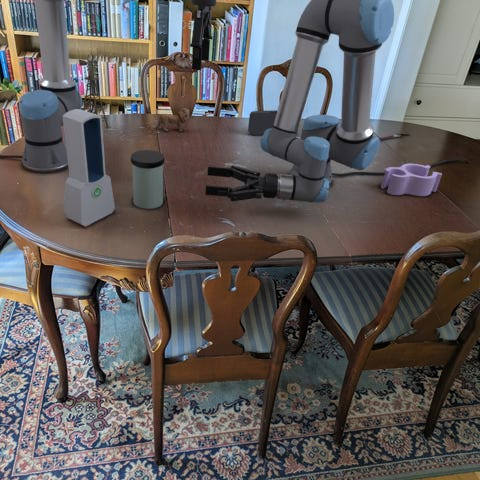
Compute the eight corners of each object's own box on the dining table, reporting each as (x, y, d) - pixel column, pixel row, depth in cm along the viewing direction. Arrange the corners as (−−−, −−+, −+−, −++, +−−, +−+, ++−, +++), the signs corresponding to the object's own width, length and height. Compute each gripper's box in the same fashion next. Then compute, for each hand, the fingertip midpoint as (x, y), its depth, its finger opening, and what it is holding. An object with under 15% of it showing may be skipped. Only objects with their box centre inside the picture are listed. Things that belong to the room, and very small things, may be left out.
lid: (126, 157, 138) (126, 151, 137) (157, 153, 142) (157, 148, 141) (137, 170, 131) (136, 164, 130) (169, 166, 136) (169, 160, 135)
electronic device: (82, 228, 128) (71, 122, 112) (63, 219, 131) (50, 114, 115) (115, 211, 137) (109, 111, 121) (97, 203, 140) (89, 104, 124)
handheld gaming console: (295, 131, 210) (298, 109, 204) (297, 134, 208) (301, 111, 202) (247, 133, 203) (249, 110, 197) (249, 135, 201) (251, 112, 195)
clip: (394, 198, 162) (399, 180, 158) (374, 182, 171) (379, 165, 168) (440, 194, 168) (447, 177, 164) (419, 179, 178) (424, 162, 174)
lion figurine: (187, 126, 202) (187, 106, 197) (190, 131, 198) (191, 110, 193) (153, 128, 197) (153, 107, 193) (156, 132, 193) (155, 111, 188)
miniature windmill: (99, 133, 186) (93, 55, 170) (79, 130, 187) (71, 51, 171) (109, 126, 194) (104, 50, 178) (90, 123, 195) (83, 47, 179)
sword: (406, 132, 223) (406, 130, 222) (411, 134, 221) (412, 132, 220) (362, 144, 207) (363, 141, 206) (368, 146, 205) (368, 143, 204)
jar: (129, 197, 145) (127, 153, 137) (156, 193, 149) (156, 150, 141) (139, 210, 139) (137, 165, 131) (167, 206, 143) (167, 161, 135)
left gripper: (209, -5, 127) (205, 75, 138) (223, -12, 148) (218, 58, 159) (181, -8, 127) (180, 72, 139) (199, -15, 148) (197, 55, 160)
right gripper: (278, 217, 132) (203, 210, 131) (271, 180, 154) (207, 174, 152) (282, 193, 129) (205, 186, 127) (275, 159, 150) (209, 152, 148)
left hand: (200, 65), depth 149 cm, fingers open, 13 cm apart
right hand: (206, 180), depth 140 cm, fingers open, 13 cm apart
